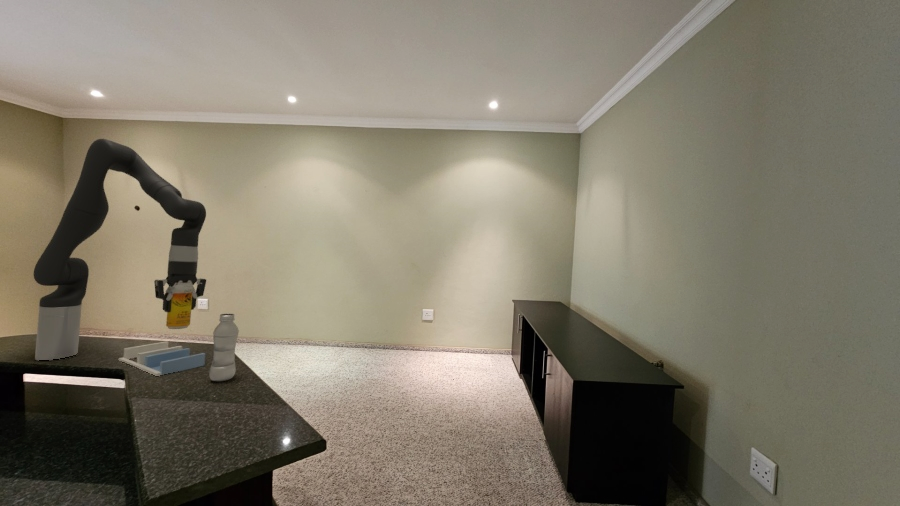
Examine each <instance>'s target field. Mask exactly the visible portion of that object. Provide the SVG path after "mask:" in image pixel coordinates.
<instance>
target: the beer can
mask: <svg viewBox="0 0 900 506" xmlns="http://www.w3.org/2000/svg"><path fill="white" fill-rule="evenodd" d="M176 284H177V283H175V284H174V286H173V287H171V286H169V285H168V287H169V290H172V289H173V288H174V287H175V293H174V294H173V296H172V298H171V299H170V300H171V311H170V312H166V313H167V314H166V322H165V323H166V324H165V327H167V329H169V330H181V329H187V328H188V327H189V326H190V325H191V316H192V310H191V306H192V293H193V287H194V285H193V284H191V282H190V283H179V284H178V285H176Z"/></svg>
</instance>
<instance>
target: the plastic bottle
mask: <svg viewBox="0 0 900 506" xmlns="http://www.w3.org/2000/svg"><path fill="white" fill-rule="evenodd" d="M218 320H219V324H217V325H216V327H215V328H214V329H213V333H212V336H213V337H212V339H213V357H212V363H211V365H210V368H209V372H208V373H209V374H208V375H209V379H210V380H211V381H212V382H224V381H229V380H231V379H233V377H234V376H235V373H236V370H237V369H236V362H235V360H236V359H235V355H236V354H235V353H236V346H237V341H238V336H239V331H240V330H239V327H238V326H237V324H236V323H235V322H234V321H235V313H229V312H228V313H222V314H220V315H219V319H218Z"/></svg>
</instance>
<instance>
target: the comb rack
mask: <svg viewBox="0 0 900 506" xmlns="http://www.w3.org/2000/svg"><path fill="white" fill-rule="evenodd" d="M190 353H191V348H189V347H187V348H186V347H185V348H183V346H182V345H178V346H177V345H176V346H172V347H169V341H167V340H166V341H161V342H154V343H148V344H142V345H138V346H137V345H136V346H130V347H124V348H123V356H122V357H119V358H118V360H119V361H122V362H125V363H127V364H130V365H133V366H135V367H137V368H139V369H141V370H143V371H146V372H148V373H150V374H149V375H151V374H153V375H155V376H159V377H161V376H160V375H163V376H165V375H164V374H167V375H169V374H168V373H171V374H174V373H173V372H175V373H178V371H179V372H182V371H187V370H190V369H195V368H199V367H203V366H204V367H205V364H206V353H205V352H202V353H197V354H191V355H190ZM134 357H137V359H136V361H135V360H134V361H133V360H129V359H130V358H134ZM119 361H118V362H119ZM122 362H121V363H122ZM144 364H145V365H144ZM141 370H140V371H141ZM143 371H142V372H143ZM146 372H145V373H146ZM148 373H147V374H148ZM153 375H152V376H153ZM155 376H154V377H155Z"/></svg>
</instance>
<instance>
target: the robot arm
mask: <svg viewBox="0 0 900 506" xmlns="http://www.w3.org/2000/svg"><path fill="white" fill-rule="evenodd" d="M109 170H111V171H113V172H118V173H124V174H126V175H128V176H129V177H131V178H133V179H136V181H137V182H138V183H139V186H140V188H141V190H142V191H143V192H144V193H145V194H146V195H147V196H149V197H150V198H151V199H153V200H154V201H155V202H157V203H158V204H159V205H160V207H161V208H162V209H163V211H164V212H165V213H166V214H167V215H168V216H169V217H170V218H171V217H172V218H173V219H174V220H175V219H176V220H178V221H183V223H182V226H181V227H176V228H173V229H172V231H171V238H170V248H169V250H168V251H169V253H168V262H167V263H168V264H167V276H166V278H165V279H155V280H154V293H155V295H154V296H155V298H156V299H159V300H162V310H163V311H164V312H165V313H167V312H170V311H171V300H170V299H171V298H172V296H173V294H174V293H175V287H174V288H173V289H172V290H169V286H171V287H173V286H174V284H175V283H177V284H176V285H178V284H179V283H190V282H191V284H193V293H192V306H191V311H192V310H195V308H196V306H197V299H198V298H199V297H203V296H204V293H205V288H206V284H207V279H205V278H201V277H200V278H198V277H197V272H198V260H199V235H200V233H201V231H202V229H203V226H204V223H205V221H206V218H207V210H206V207H205V206H204V204H203V203H202V202H199V201H196V200H191V199H187V198H184V197H183V195H182V192H181V191H180V190H179V189H178V188H177V187H175V186H174V185H173V184H171V183H170V182H169V181H167V180H166V179H165V178H163V177H162V176H161V175H159V174H158V172H156V171H155V170H154V169H153V168H152V167H151V166H150V165H149V164H148V163H147V162H146V161H145V160H144V159H143V158H142V157H141V156H140V155H139V154H138V153H137V151H136V150H134V149H133V148H131V147H129V146H127V145H124V144H121V143H118V142H115V141H112V140H110V139H107V138H98V139H95V140H94V141H93V142H92V143H91V144H90V146H89V147H88V149H87V151H86V154H85V158H84V162H83V164H82V169H81V172H80V174H79V178H78V179H77V180H78V181H77V183H76V186H75V187H74V190H73V192H72V195H71V197H70V199H69V201H68V203H67V204H66V207H65V209H64V211H63V213H62V216H61V219H60V221H59V223H58V225H57V227H56V229H55V231H54V233H53V235H52V237H51V239H50V241H49V242H48V244H47V246H46V247H45V249H44V250H43V252H42V253H41V255H40V256H39V258H38V260H37V262H36V263H35V266H34V269H33V278H34V281H35V282H36V283H37V284H38V285H40V286H45V287H46V286H49V287H52V286H57V288H56V289H55V290H54V291H53V292H51V293H49V294H47V295H44V296H42V297H41V298H40V299H39V306H38V317H37V331H36V342H35V353H34V360H36V361H39V360H49V361H54V360H53V359H59V360H61V359H60V358H65V357H69V356H73V355H76V354H77V353H78V351H79V341H80V340H79V339H80V328H81V317H82V304H83V303H82V302H83V299H84V298H85V296H86V293H87V286H88V280H89V275H90V273H89V266H88V264H87V262H86V261H85V260H84V259H82V258H80V257H71V256H72V254H73V253H74V251H75V250H76V248H78V247H79V246H80V245H81V244H82V243H83V242H85V241H86V240H87V239H89V238H90V237H92V236H93V235H94V234H95V233H97V232H98V231H99V230H100V229H101V228H102V226H103V224H104V222H105V220H106V218H107V215H108V213H109V209H110V208H109V207H110V206H109V201H108V198H107V194H106V192H105V187H104V186H105V185H104V183H105V179H106V176H107V175H108V174H107V173H108V172H109ZM166 284H167V285H168V287H167V288H166V290H165V286H166ZM195 284H196V289H195V287H194V285H195ZM77 355H78V354H77ZM77 355H76V356H77ZM73 357H74V356H73ZM69 358H70V357H69ZM65 359H66V358H65Z"/></svg>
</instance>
